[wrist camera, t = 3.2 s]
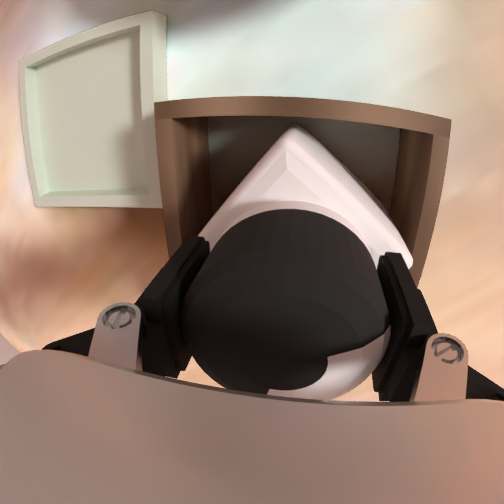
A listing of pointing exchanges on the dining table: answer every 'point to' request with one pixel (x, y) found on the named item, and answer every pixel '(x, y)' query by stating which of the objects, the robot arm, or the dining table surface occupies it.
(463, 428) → the robot arm
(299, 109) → the holder
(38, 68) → the tray
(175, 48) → the dining table surface
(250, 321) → the medicine bottle
